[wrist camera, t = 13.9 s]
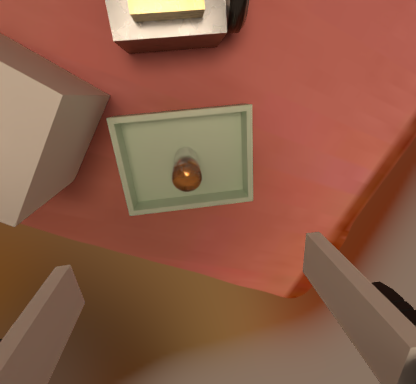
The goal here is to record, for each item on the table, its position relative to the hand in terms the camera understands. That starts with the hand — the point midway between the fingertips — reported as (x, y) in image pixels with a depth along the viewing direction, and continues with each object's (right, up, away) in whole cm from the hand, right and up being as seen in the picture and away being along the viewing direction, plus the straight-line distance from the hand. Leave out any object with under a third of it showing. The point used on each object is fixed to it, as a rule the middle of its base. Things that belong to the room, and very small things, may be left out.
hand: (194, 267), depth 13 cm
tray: (-3, +10, +25) cm, 27 cm away
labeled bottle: (-3, +10, +24) cm, 26 cm away
